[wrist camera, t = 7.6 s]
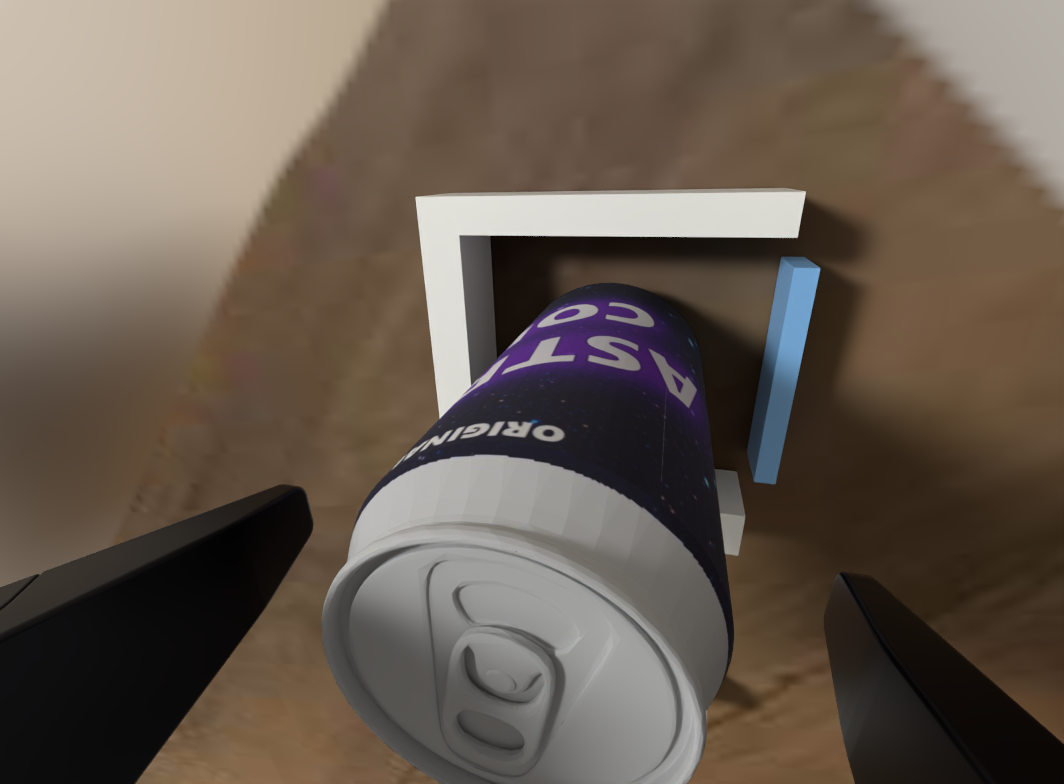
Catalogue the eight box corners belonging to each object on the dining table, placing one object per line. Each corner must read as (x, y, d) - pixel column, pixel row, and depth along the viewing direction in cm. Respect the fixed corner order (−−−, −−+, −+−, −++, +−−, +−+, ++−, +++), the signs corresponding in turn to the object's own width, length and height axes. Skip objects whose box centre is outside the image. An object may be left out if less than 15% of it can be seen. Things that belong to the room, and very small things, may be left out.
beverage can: (725, 299, 15) (841, 617, 4) (671, 455, 17) (662, 897, 7) (545, 259, 16) (277, 440, 5) (518, 412, 18) (302, 743, 8)
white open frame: (818, 187, 13) (846, 191, 11) (721, 683, 21) (726, 744, 19) (452, 193, 16) (415, 196, 14) (488, 632, 24) (468, 680, 21)
